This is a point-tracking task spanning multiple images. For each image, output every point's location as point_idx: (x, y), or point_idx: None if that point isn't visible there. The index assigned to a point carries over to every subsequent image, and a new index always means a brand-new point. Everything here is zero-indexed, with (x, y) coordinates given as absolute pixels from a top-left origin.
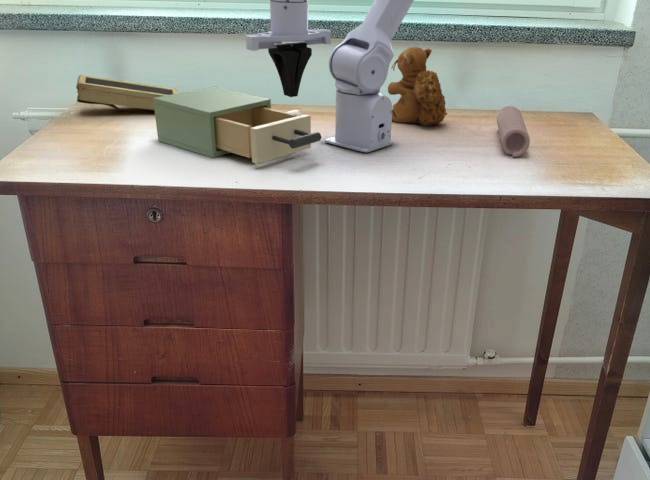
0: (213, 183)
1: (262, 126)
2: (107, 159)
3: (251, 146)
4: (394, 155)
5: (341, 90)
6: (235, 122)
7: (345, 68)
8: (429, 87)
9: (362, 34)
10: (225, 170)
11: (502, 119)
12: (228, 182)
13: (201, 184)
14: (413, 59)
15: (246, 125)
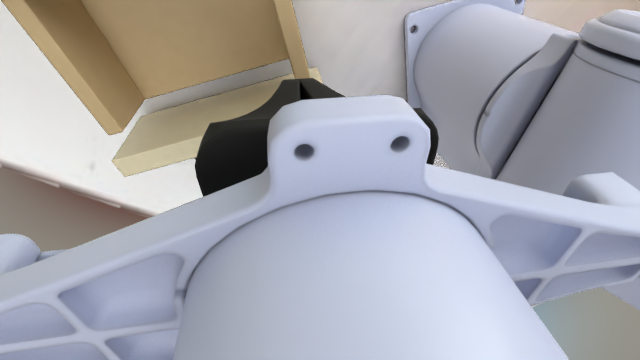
0: (38, 154)
1: (151, 161)
2: None
3: (128, 135)
4: (439, 159)
5: (480, 126)
6: (71, 75)
7: (534, 173)
8: None
9: None
10: (73, 93)
11: None
12: (73, 160)
13: (8, 149)
14: None
15: (106, 123)
